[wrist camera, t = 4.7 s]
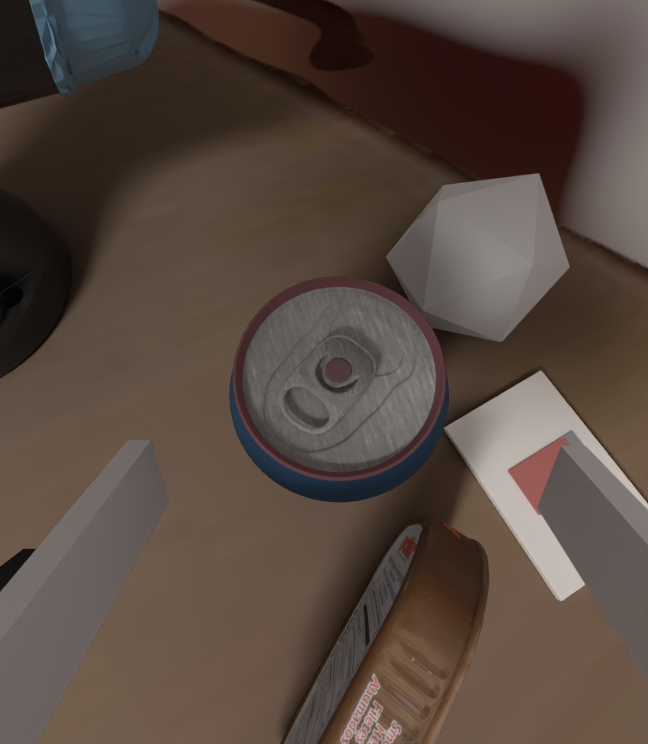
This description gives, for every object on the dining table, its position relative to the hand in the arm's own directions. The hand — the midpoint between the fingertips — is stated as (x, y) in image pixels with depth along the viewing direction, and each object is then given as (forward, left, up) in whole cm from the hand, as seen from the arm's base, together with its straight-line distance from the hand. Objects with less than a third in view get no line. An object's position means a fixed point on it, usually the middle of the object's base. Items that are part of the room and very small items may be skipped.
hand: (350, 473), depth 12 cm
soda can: (-2, +1, -9) cm, 9 cm away
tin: (+7, -4, -9) cm, 12 cm away
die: (-6, +12, -9) cm, 16 cm away
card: (+6, +10, -9) cm, 14 cm away
